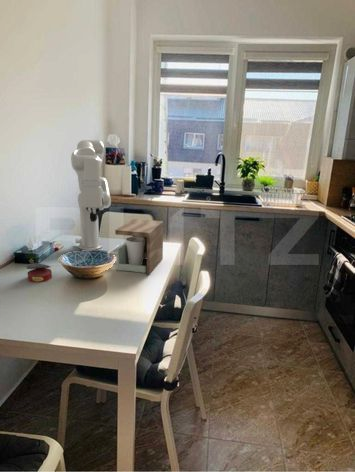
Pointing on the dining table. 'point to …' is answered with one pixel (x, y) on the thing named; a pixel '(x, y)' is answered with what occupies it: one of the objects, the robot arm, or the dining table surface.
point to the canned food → (39, 272)
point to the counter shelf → (146, 239)
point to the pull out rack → (125, 259)
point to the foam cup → (135, 250)
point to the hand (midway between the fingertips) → (93, 220)
